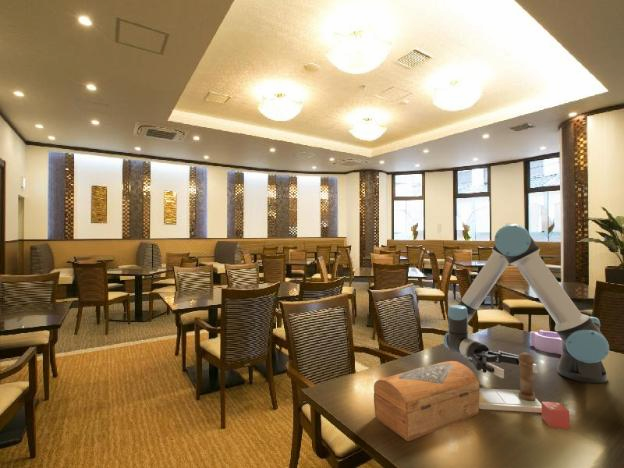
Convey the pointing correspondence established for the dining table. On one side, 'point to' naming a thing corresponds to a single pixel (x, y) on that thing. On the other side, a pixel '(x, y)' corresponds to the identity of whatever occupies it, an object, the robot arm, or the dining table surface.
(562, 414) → the die
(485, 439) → the dining table surface
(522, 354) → the pawn
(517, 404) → the board
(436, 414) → the wooden box
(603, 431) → the dining table surface
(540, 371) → the dining table surface
